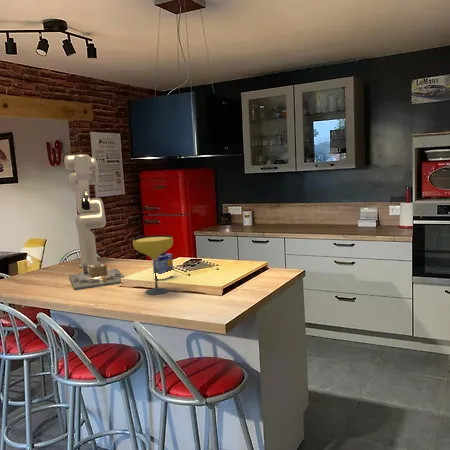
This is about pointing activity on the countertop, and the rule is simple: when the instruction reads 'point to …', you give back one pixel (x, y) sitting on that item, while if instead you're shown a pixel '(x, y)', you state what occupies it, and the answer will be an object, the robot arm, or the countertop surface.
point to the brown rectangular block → (97, 270)
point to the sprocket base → (95, 282)
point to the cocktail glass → (153, 253)
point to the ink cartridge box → (163, 263)
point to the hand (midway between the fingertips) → (85, 209)
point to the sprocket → (86, 278)
